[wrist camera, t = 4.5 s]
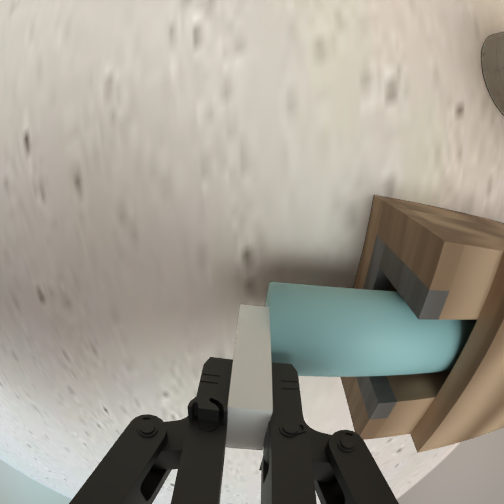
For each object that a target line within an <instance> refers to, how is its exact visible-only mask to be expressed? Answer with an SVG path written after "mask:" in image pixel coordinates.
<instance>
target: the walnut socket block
mask: <svg viewBox="0 0 504 504" xmlns="http://www.w3.org/2000/svg"><path fill="white" fill-rule="evenodd" d="M353 289H367V290H381V291H395V292H399V294H400V295H401V296H402V298H403V299H404V300H405V302H406V303H407V305H408V306H409V307H410V309H411V310H412V311H413V313H414V314H415V316H416V317H417V318H418V319H425V320H466V319H477V322H476V324H475V326H474V328H473V330H472V332H471V334H470V336H469V339H468V341H467V343H466V345H465V346H464V348H463V350H462V352H461V354H460V356H459V358H458V360H457V362H456V363H455V365H454V367H453V369H452V371H443V372H433V373H421V374H408V375H390V376H359V377H341V380H342V384H343V388H344V391H345V395H346V399H347V403H348V406H349V410H350V414H351V418H352V422H353V426H354V430H355V433H357V434H359V435H360V437H361V438H362V439H373V438H382V437H390V436H397V435H404V434H411V437H412V439H413V442H414V445H415V447H416V450H417V453H418V452H422V451H427V450H431V449H435V448H440V447H444V446H447V445H451V444H455V443H458V442H462V441H464V440H468V439H471V438H475V437H478V436H481V435H484V434H486V433H490V432H492V431H495V430H498V429H500V428H503V427H504V223H500V222H497V221H493V220H489V219H485V218H481V217H477V216H473V215H469V214H465V213H461V212H456V211H452V210H447V209H443V208H438V207H434V206H429V205H424V204H419V203H414V202H409V201H404V200H399V199H394V198H388V197H383V196H377V195H374V199H373V204H372V209H371V214H370V219H369V224H368V229H367V234H366V238H365V243H364V247H363V251H362V256H361V260H360V264H359V268H358V272H357V276H356V280H355V284H354V287H353Z"/></svg>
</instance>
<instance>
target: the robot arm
mask: <svg viewBox="0 0 504 504" xmlns="http://www.w3.org/2000/svg"><path fill="white" fill-rule="evenodd" d="M299 389H300V388H299V380H298V372H297V371H296V369H295V368H294V366H293V365H292V364H286V363H271V333H270V313H269V307H263V306H253V305H243V304H240V307H239V316H238V324H237V332H236V340H235V349H234V357H233V360H231V359H222V358H214V357H210V358H209V359H208V360H207V361H206V363H205V364H204V366H203V370H202V375H201V379H200V383H199V388H198V392H197V397H195V398H194V399H192V400H191V401H190V403H189V405H188V416H187V417H186V418H184V419H182V420H178V421H170V422H163V421H162V420H161V419H160V418H158V417H157V416H153V415H141V416H138V417H136V418H134V419H133V420H132V421H131V422H130V424H129V425H128V426H127V428H126V429H125V430H124V432H123V433H122V434H121V436H120V437H119V438H118V440H117V441H116V442H115V444H114V445H113V446H112V448H111V449H110V450H109V452H108V453H107V454H106V456H105V457H104V458H103V460H102V461H101V462H100V463H99V465H98V466H97V467H96V469H95V470H94V471H93V473H92V474H91V475H90V477H89V478H88V479H87V481H86V482H85V483H84V485H83V486H82V487H81V489H80V490H79V491H78V493H77V494H76V495H75V497H74V498H73V499H72V501H71V502H70V503H69V504H152V503H153V501H154V499H155V498H156V496H157V494H158V492H159V491H160V489H161V487H162V485H163V484H164V482H165V480H166V479H167V477H168V475H169V473H170V472H171V470H172V469H178V472H177V477H176V481H175V486H174V491H173V496H172V501H171V504H220V494H221V485H222V475H223V465H224V455H225V447H229V448H240V449H253V450H263V459H262V462H261V466H260V469H259V470H262V474H261V504H316V494H315V490H316V493H317V495H318V497H319V500H320V502H321V504H399V503H398V502H397V500H396V498H395V496H394V494H393V493H392V491H391V489H390V487H389V485H388V484H387V482H386V480H385V478H384V476H383V475H382V473H381V471H380V469H379V467H378V466H377V464H376V462H375V460H374V458H373V457H372V455H371V453H370V451H369V450H368V448H367V446H366V444H365V442H364V441H363V439H362V438H361V437H360V435H359V434H357V433H355V432H353V431H349V430H340V431H338V432H335V433H334V434H333V435H329V434H325V433H321V432H318V431H315V430H313V429H312V428H310V427H309V426H308V425H307V424H306V423H305V421H304V418H303V413H302V405H301V396H300V390H299ZM263 446H264V448H263Z"/></svg>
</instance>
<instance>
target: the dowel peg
mask: <svg viewBox="0 0 504 504" xmlns="http://www.w3.org/2000/svg"><path fill="white" fill-rule="evenodd" d="M265 307H269V313H270V333H271V363H286V364H292V365H293V366H294V368H295V369H296V371H297V372H298V376H326V377H359V376H390V375H408V374H421V373H433V372H443V371H452V369H453V367H454V365H455V363H456V362H457V360H458V358H459V356H460V354H461V352H462V350H463V348H464V346H465V345H466V343H467V341H468V339H469V336H470V334H471V332H472V330H473V328H474V326H475V324H476V322H477V319H466V320H425V319H418V318H417V317H416V316H415V314H414V313H413V311H412V310H411V309H410V307H409V306H408V305H407V303H406V302H405V300H404V299H403V298H402V296H401V295H400V294H399V292H395V291H381V290H367V289H353V288H341V287H328V286H316V285H305V284H293V283H282V282H272V281H271V282H270V284H269V287H268V292H267V298H266V305H265Z"/></svg>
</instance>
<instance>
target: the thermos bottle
mask: <svg viewBox="0 0 504 504" xmlns="http://www.w3.org/2000/svg"><path fill="white" fill-rule="evenodd" d="M481 62H482V70H483V75H484V79H485V82H486V85H487V88H488V90H489V93H490V95H491V97H492V99H493V101H494V102H495V104H496V106H497V107H498V109H499V110H500V111H501V113H502V114H503V115H504V32H500V33H496V34H493V35H491V36H489V37H488V38H487V39H486V41H485V43H484V45H483V49H482V58H481Z"/></svg>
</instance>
